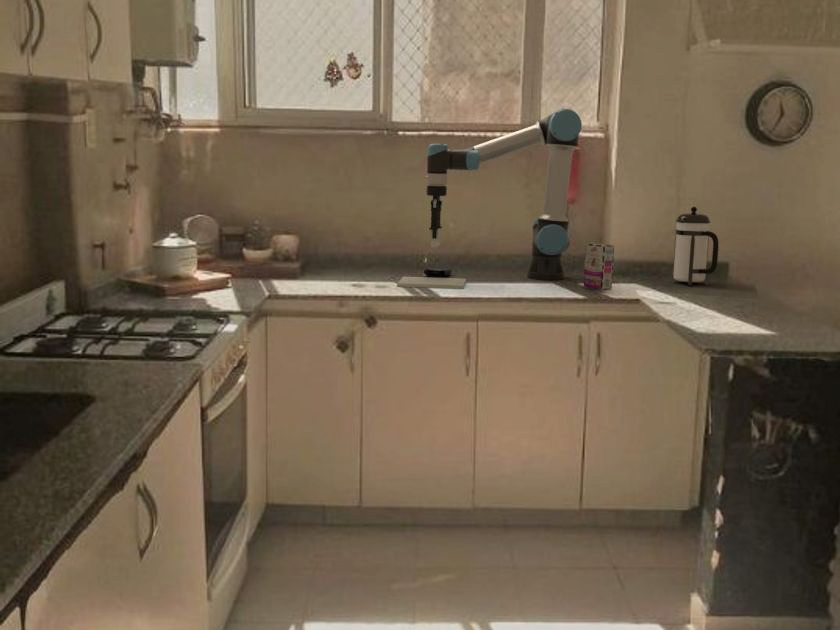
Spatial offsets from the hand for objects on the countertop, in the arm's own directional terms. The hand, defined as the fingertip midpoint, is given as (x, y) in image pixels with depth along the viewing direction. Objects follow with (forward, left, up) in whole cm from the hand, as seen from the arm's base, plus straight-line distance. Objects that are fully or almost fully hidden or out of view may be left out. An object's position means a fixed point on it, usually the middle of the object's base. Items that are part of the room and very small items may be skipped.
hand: (435, 246), depth 350 cm
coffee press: (-100, -13, -13) cm, 101 cm away
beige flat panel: (0, +12, -13) cm, 18 cm away
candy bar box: (-61, +8, -13) cm, 63 cm away
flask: (0, -6, -14) cm, 15 cm away
